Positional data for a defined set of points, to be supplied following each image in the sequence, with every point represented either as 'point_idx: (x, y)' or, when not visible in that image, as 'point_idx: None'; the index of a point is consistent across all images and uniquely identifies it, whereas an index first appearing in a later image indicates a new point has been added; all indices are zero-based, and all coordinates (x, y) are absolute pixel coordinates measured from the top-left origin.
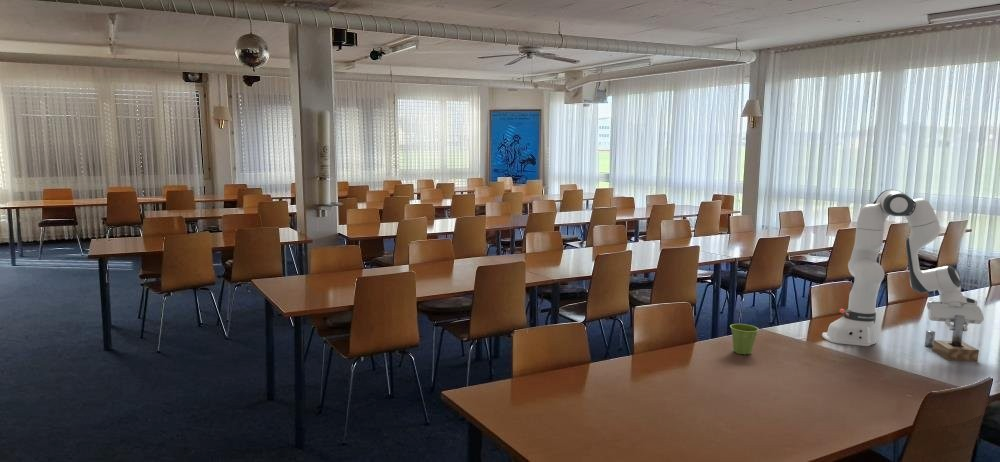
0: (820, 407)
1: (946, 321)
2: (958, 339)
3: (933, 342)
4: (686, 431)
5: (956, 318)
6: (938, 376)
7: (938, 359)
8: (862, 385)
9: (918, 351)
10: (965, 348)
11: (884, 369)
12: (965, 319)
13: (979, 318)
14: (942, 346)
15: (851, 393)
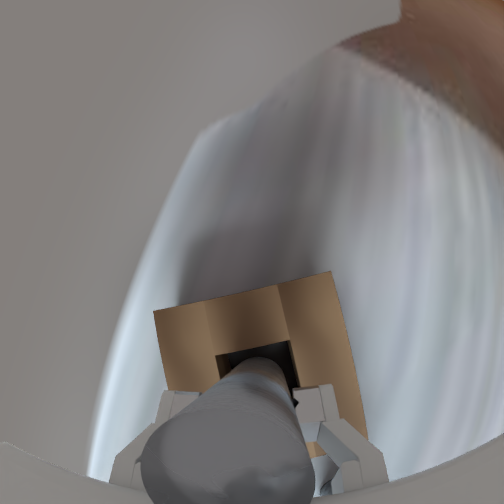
0: (470, 9)
1: (378, 457)
2: (254, 362)
3: (331, 494)
4: (498, 5)
5: (294, 428)
6: (373, 83)
7: (359, 275)
8: (473, 44)
9: (418, 376)
10: (222, 322)
11: (484, 111)
12: (138, 490)
13: (7, 460)
14: (347, 342)
15: (468, 27)
